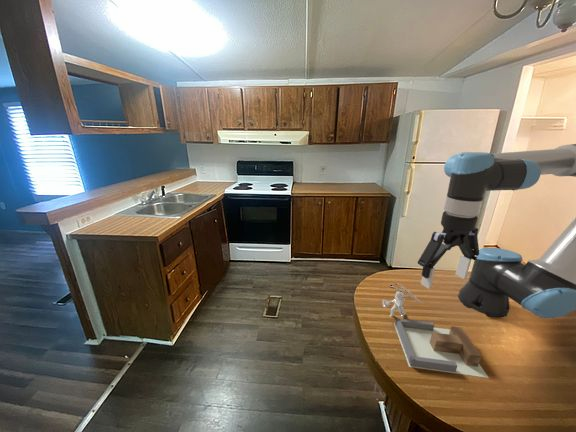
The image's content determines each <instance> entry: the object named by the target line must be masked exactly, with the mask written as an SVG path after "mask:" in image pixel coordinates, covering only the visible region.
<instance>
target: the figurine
mask: <svg viewBox="0 0 576 432" xmlns="http://www.w3.org/2000/svg"><path fill="white" fill-rule="evenodd" d="M404 297H405V294H404V293H402V292H400V291H398V290H397V291H396V292H395V296H394V299H392V300H389V301H388V300H386V299H382V300H381V303H382V307H383V308H387V307H388V306H390V303H393V304H394V305H393V306H391V309H390V315H389V317H394V315H395V311H396V310H397V311H398V313H399V314H400V315H401V317H405V316H406V315H407V313H406V312H405V311H403V310H404V309H405V308H404V302H406V298H404Z"/></svg>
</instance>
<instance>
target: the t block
mask: <svg viewBox="0 0 576 432" xmlns="http://www.w3.org/2000/svg"><path fill="white" fill-rule="evenodd" d="M430 344H431V346H432V348H433V350H434V351H440V352H447V353H455V354H459V355H460V356H461V358H462V359H463V361H464V363H465V364H466V365H469V366H476V367H478V364H480V362H481V358H482V355H481V353H480V352H479V350H478V349H477V348H476V346H475V345H474V343H473V342H472V340H471V339H470V337H469V336H468V335H467V333H466V332H465V331H464V328H463V327H459V326H452V325H451V326H450V332H449V334H441V333H432V335H431V339H430Z"/></svg>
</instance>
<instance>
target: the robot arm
mask: <svg viewBox="0 0 576 432" xmlns="http://www.w3.org/2000/svg"><path fill="white" fill-rule="evenodd" d="M443 167H444V168H443V170H444V174H445V175H446V176H447V177H449V178H450V179H449V184H448V188H447V194H446V199H445V204H444V208H443V209H444V211H443V213H442V215H441V221H440V225H441V226H442V229H443V230H442V231H441V232H437V231H433V233H432V234H431V238H430V239H429V240H430V241H429V242H427V243H428V244H427V246H426V247H425V249H424V250H423V251H422V253H421V256H420V257H419V259H418V260H417V264H418V265H419V266H421V267H422V272H421V280H420V285H422V286H423V287H425V288H426V289H428V290H431V288H432V284H433V279H434V274H435V271H436V268H435V266H436V264H437V263H438V262H439V261H440V260H441V258H442V257H443V256H444V255H445V254H446V253H447V251H451V249H452V248H455V247H459V250H460V251H461V254H462V255H459V259H458V263H457V266H456V271H455V273H454V274H455V275H456V276H457V277H459V278H460V279H463V280H466V279H467V277H468V273H469V268H470V266H471V262H472V260H473V261H474V262H473V264H472V265H473V266H472V267H471V268H472V269H471V271H470V276H469V278H468V281H467V282H466V283H465V284H464V286H462V287H461V288H460V290H459V292H458V295H457V296H458V300H459V301H460V302H461V304H462V305H463V306H465V307H466V308H468V309H473V310H474V311H477V312H479V313H480V314H484V315H485V316H486V317H488V318H493V319H503V318H506V317H507V316H508V314H509V312H510V310H511V309H510V301H509V300H510V299H511V300H513V301H514V302H515V303H517V304H518V305H520V306H521V307H522V308H523V309H524V310H527V311H529V312H530V313H532V314H534V315H535V316H537V317H539V318H543V319H556V318H560V317H564V316H566V315H568V314H569V313H571V312H573V311H574V310H576V217H575V218H574V219H573V220H572V221H571V222H570V223H569V224H568V226H567V227H566V228H565V229H564V230H563V231H562V232H561V234H559V236H558V237H557V238H556V240H555V241H554V242H553V243H551V245H550V246H549V247H548V248H547V250H546V251H545V252H544V253H542V255H541V256H540V257H539V258H538V259H531V260H528V261H527V263H525V264H524V263H522V262H523V257H522V256H523V255H521V254H519V253H518V252H515V251H514V250H513V251H512V250H509V249H506V248H505V249H504V248H499V247H483V248H480V249H479V239H478V233H479V228H477V227H476V226H477V222H478V219H479V217H478V216H479V215H480V212H481V208H482V204H483V201H484V199H485V198H484V197H485V194H486V192H490V191H492V192H493V191H517V190H526V189H529V188H531V187H533V186H535V185H536V184H537V183H538V182H539V180H540V178H541V175H543V176H544V175H553V176H555V177H574V178H576V143H574V144H573V143H571V144H563V145H559V146H557V147H555V148H550V149H537V150H523V151H513V152H511V151H510V152H498V153H497V152H495V153H490V152H481V151H479V152H477V151H476V152H474V151H473V152H472V151H471V152H470V151H467V152H465V151H464V152H461V153H457V154H454V155H452V156H450V157H449V158H448V159H447V160H446V161H445V164H444V166H443Z"/></svg>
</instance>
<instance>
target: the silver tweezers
mask: <svg viewBox="0 0 576 432" xmlns="http://www.w3.org/2000/svg"><path fill="white" fill-rule="evenodd" d="M396 283H397V284H398V285H400V286H401V287H400V288H401V289H400V288H398V287H396V286H393V285H392V286H390V285H389V287H391V288H392V287H393V288H392V289H394V288H395V289H394V290H396V289H397V290H396V291H398V290H399V292H401V293H404V295H405V294H406V296H407V295H408V296H407V297H409V298H411V299H412V300H415V301H416V302H418V303H419V304H421V303H422V304H423V301H421V300H420V299H418V297H416V296H415V295H414V294H412V292H410V291H409V290H408V289H407V288H406V287H405V286H403V285H401V284H400V283H398V282H396ZM398 285H397V286H398ZM402 288H403V289H404V290H403V289H402ZM405 290H406V291H407V292H408V293H407V292H406V291H405ZM409 293H410V294H411V295H410V294H409Z"/></svg>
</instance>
